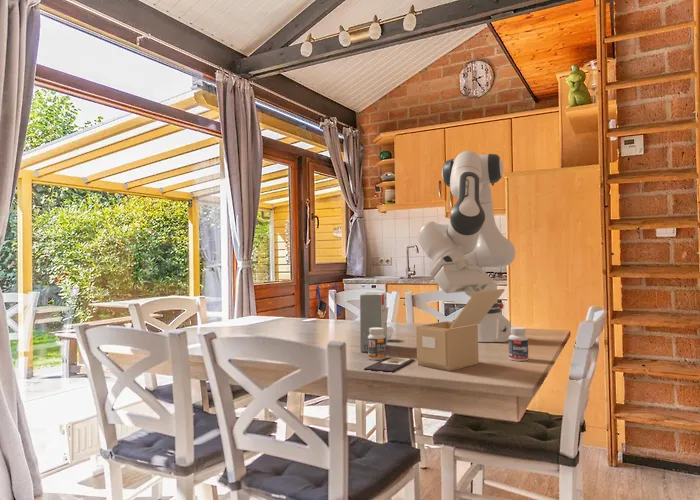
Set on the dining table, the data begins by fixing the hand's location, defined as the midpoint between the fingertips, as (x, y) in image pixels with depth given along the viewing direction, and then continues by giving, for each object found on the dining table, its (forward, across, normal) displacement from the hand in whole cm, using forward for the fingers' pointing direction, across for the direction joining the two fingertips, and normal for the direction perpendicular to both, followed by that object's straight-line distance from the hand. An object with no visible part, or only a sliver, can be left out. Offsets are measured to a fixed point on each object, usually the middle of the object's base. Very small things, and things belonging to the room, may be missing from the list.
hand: (480, 300), depth 150 cm
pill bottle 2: (+13, -22, -16) cm, 30 cm away
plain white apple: (-27, -18, -56) cm, 65 cm away
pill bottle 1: (-10, +8, -39) cm, 41 cm away
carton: (+6, -1, -23) cm, 24 cm away
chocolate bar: (-2, +12, -32) cm, 35 cm away
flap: (+1, -1, -11) cm, 11 cm away
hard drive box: (-20, -3, -49) cm, 53 cm away
